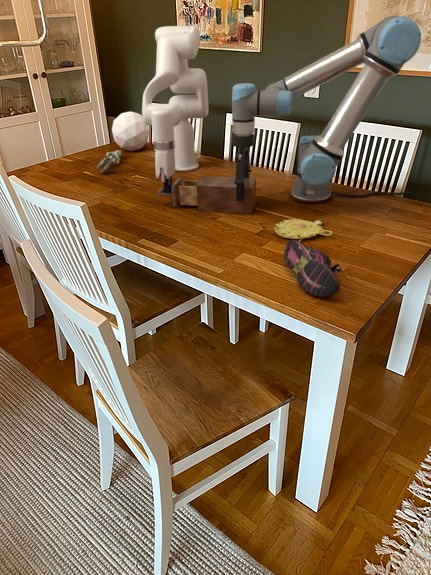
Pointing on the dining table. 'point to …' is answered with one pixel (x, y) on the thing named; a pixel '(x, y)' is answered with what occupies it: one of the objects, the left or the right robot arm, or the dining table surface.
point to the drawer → (183, 192)
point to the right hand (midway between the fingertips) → (242, 195)
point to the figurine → (110, 160)
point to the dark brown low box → (225, 195)
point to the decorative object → (300, 229)
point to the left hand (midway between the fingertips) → (168, 193)
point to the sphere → (130, 131)
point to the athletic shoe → (312, 269)
